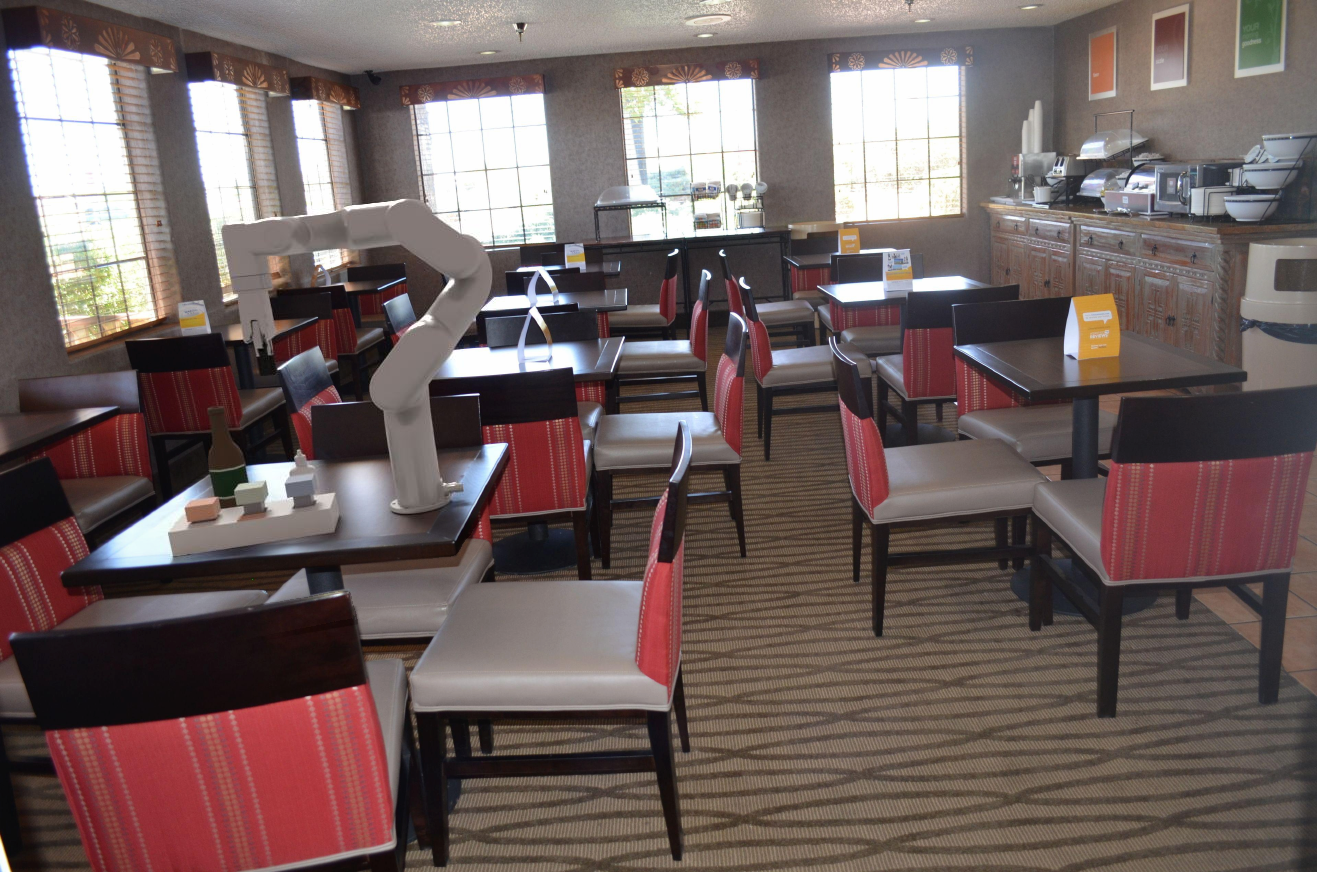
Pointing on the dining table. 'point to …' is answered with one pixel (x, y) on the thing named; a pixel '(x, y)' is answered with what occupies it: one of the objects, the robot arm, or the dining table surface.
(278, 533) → the console
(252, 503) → the sage button
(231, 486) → the beer bottle
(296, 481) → the slate button
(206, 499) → the terracotta button
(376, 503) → the dining table surface
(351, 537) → the dining table surface
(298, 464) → the eye dropper bottle
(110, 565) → the dining table surface
